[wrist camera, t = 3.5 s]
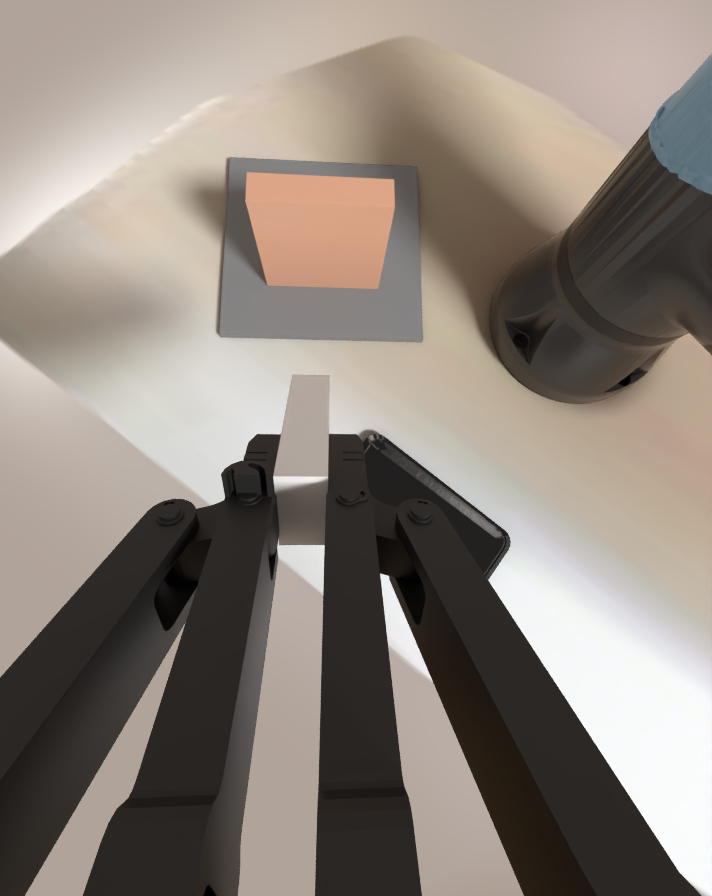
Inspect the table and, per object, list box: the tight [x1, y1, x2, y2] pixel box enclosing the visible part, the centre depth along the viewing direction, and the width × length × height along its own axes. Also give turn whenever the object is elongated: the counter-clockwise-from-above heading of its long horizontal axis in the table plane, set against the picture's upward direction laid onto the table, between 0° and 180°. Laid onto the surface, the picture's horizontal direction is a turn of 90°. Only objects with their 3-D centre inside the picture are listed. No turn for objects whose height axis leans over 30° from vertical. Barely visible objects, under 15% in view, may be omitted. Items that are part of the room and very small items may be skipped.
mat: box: [219, 157, 423, 342], centre depth 39 cm, size 18×18×1 cm
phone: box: [363, 434, 510, 580], centre depth 35 cm, size 8×1×15 cm
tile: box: [245, 172, 395, 289], centre depth 33 cm, size 10×2×10 cm, turn 90°
